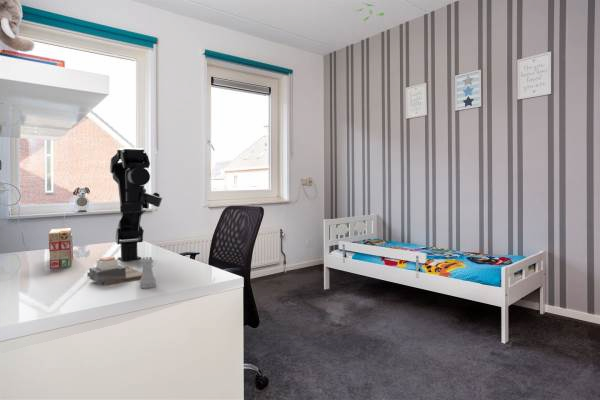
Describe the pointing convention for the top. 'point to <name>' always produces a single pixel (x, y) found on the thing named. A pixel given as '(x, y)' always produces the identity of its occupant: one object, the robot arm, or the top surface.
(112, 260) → the key cap
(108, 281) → the key console
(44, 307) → the top surface
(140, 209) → the robot arm
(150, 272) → the rook chess piece
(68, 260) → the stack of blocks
